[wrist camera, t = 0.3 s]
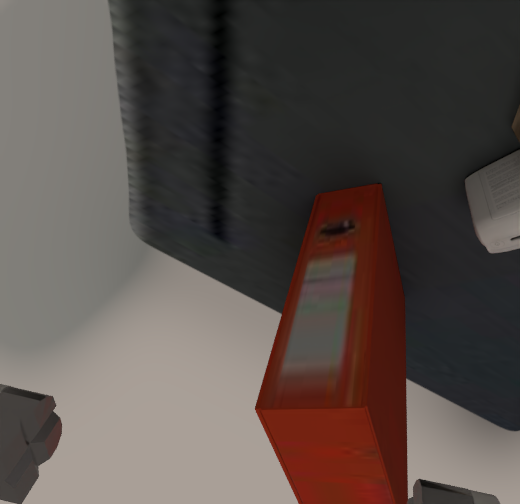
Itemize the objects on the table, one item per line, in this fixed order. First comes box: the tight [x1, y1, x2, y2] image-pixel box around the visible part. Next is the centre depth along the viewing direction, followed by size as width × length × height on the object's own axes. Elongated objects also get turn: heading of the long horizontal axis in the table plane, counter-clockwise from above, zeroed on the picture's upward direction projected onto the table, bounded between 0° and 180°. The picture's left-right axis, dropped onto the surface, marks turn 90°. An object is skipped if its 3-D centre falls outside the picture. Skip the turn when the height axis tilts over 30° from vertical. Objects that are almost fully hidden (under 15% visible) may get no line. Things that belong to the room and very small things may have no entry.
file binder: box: [255, 184, 408, 504], centre depth 50 cm, size 8×17×32 cm, turn 18°
